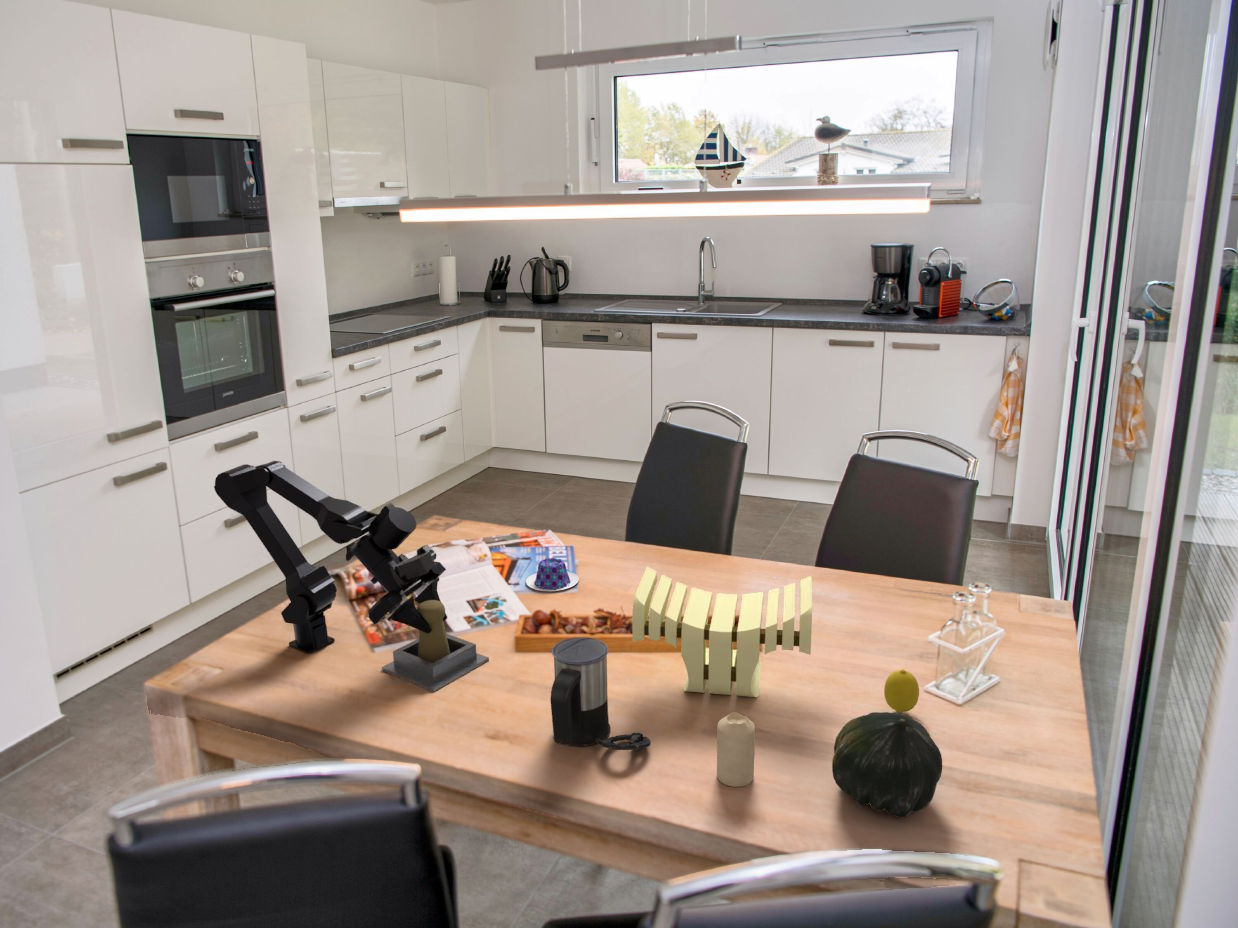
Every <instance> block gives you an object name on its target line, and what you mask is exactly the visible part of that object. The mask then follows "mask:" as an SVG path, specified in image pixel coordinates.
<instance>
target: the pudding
mask: <svg viewBox="0 0 1238 928" xmlns="http://www.w3.org/2000/svg"><path fill="white" fill-rule="evenodd" d="M536 570H537V572H535V573H533V574H531V575H529V576H528V577H527V578H526V580H525V584H526V585H527V586H528V587H529V588H531V589H533V590H537V591H540V592H541V591H544V592H556V591H557V592H558V591H562V590H566V589H570V588H572V587H574V586H575V585H576V584H578V582H579V579H580V578H579V576H578V575H577V574H576V573H574V572H571V571H568V569H567V565H566V562H565V561H564V560H563V559H561V558H557V557H548V558H544V559H543V560H540V561H539V563H538V566H537V569H536ZM568 583H569V584H568ZM568 585H569V586H568ZM565 586H567V587H565ZM559 587H563V588H559ZM554 589H556V590H554Z"/></svg>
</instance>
